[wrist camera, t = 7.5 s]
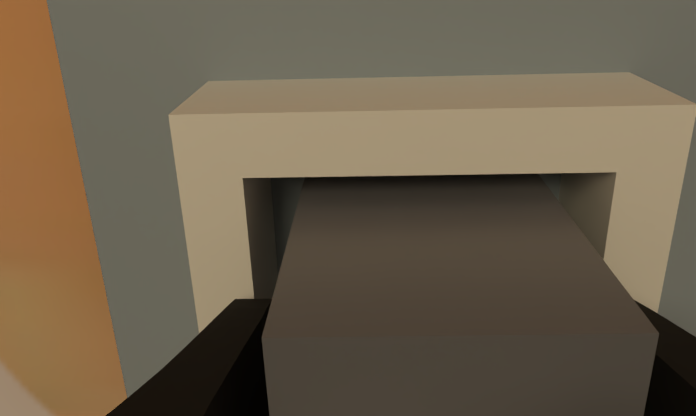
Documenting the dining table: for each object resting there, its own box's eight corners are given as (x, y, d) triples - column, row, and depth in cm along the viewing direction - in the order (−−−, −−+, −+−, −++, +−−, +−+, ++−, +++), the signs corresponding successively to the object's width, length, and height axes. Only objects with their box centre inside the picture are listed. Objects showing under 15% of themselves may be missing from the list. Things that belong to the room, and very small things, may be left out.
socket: (793, -129, 11) (977, -163, 7) (657, 481, 16) (731, 616, 13) (52, -105, 11) (-76, -127, 8) (162, 480, 17) (113, 609, 13)
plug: (521, 151, 12) (659, 333, 6) (507, 330, 13) (607, 603, 8) (310, 156, 12) (261, 337, 6) (320, 332, 13) (288, 602, 8)
